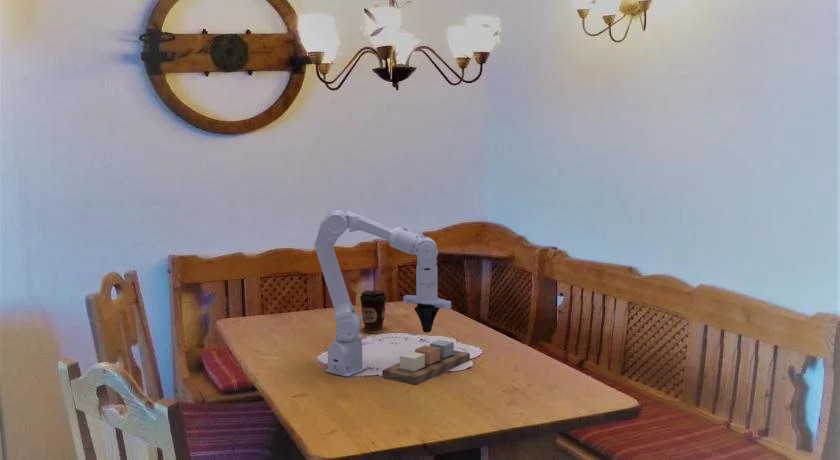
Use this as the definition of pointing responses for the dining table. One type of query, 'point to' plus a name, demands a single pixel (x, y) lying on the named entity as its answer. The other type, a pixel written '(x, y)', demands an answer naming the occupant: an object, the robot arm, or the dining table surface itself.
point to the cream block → (412, 361)
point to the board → (425, 369)
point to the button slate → (444, 347)
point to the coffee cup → (373, 310)
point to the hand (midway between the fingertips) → (427, 331)
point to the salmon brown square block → (429, 353)
